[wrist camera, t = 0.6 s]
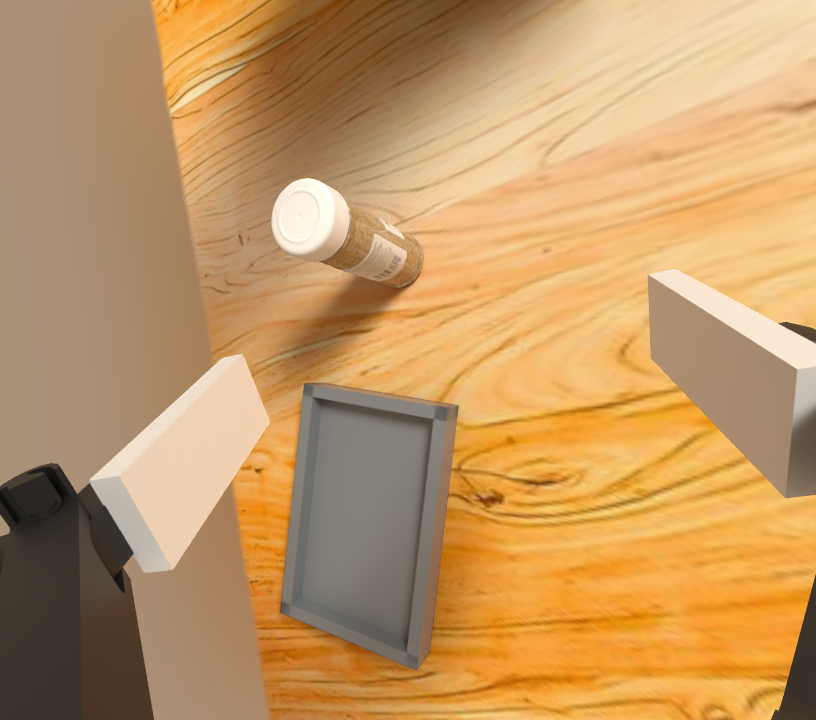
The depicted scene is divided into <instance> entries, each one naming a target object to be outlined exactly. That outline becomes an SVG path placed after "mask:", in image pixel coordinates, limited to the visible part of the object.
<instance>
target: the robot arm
mask: <svg viewBox="0 0 816 720" xmlns="http://www.w3.org/2000/svg"><path fill="white" fill-rule="evenodd" d="M648 294H649V320H650V347H651V359H652V360H653V361H654V362H655V363H656V364H657V365H658V366H659V367H660V368H661V369H662V370H663V371H664V372H665V373H666V374H667V375H668V376H669V377H670V378H671V379H672V381H673V382H674V383H675V384H676V385H677V386H678V387H679V388H680V389H681V390H682V391H683V392H684V393H685V394H686V395H687V396H688V397H689V398H690V399H691V400H692V401H693V402H694V403H695V404H696V406H697V407H698V408H699V409H700V410H701V411H702V412H703V413H704V414H705V415H706V416H707V417H708V418H709V419H710V420H711V421H712V422H713V423H714V424H715V425H716V426H717V427H718V428H719V429H720V431H721V432H722V433H723V434H724V435H725V436H726V437H727V438H728V439H729V440H730V441H731V442H732V443H733V444H734V445H735V446H736V447H737V448H738V449H739V450H740V451H741V452H742V453H743V454H744V456H745V457H746V458H747V459H748V460H749V461H750V462H751V463H752V464H753V465H754V466H755V467H756V468H757V469H758V470H759V471H760V472H761V473H762V474H763V475H764V476H765V477H766V478H767V480H768V481H769V482H770V483H771V484H772V485H773V486H774V487H775V488H776V489H777V490H778V491H779V492H780V493H781V494H782V495H783V496H784V497H785V498H791V497H800V496H808V495H816V330H815V329H813V328H810V327H806V326H801V325H797V324H793V323H789V322H783V323H776V322H774V321H772V320H770V319H768V318H767V317H765V316H763V315H761V314H759V313H757V312H755V311H753V310H752V309H750V308H748V307H746V306H744V305H742V304H740V303H738V302H736V301H735V300H733V299H731V298H729V297H727V296H725V295H723V294H721V293H720V292H718V291H716V290H714V289H712V288H710V287H708V286H706V285H705V284H703V283H701V282H699V281H697V280H695V279H693V278H691V277H690V276H688V275H686V274H684V273H682V272H680V271H678V270H676V269H672V270H667V271H662V272H657V273H652V274H648ZM269 423H270V421H269V418H268V416H267V413H266V411H265V408H264V406H263V403H262V401H261V398H260V396H259V393H258V391H257V388H256V386H255V383H254V381H253V378H252V376H251V373H250V371H249V368H248V366H247V363H246V361H245V358H244V356H243V354H239V355H234V356H229V357H224V358H222V359H221V360H220V361H218V362H217V363H216V364H215V365H214V366H213V367H212V368H211V369H210V370H209V371H208V372H206V373H205V374H204V375H203V376H202V377H201V378H200V379H199V380H198V381H197V382H196V383H194V385H192V386H191V387H190V388H189V389H188V390H187V391H186V392H185V393H184V394H182V395H181V396H180V397H179V398H178V399H177V400H176V401H175V402H174V403H173V404H172V405H171V406H169V407H168V408H167V409H166V410H165V411H164V412H163V413H162V414H161V415H160V416H158V418H156V419H155V420H154V421H153V422H152V423H151V424H150V425H149V426H148V427H146V428H145V429H144V430H143V431H142V432H141V433H140V434H139V435H138V436H137V437H136V438H135V439H133V440H132V441H131V442H130V443H129V444H128V445H127V446H126V447H125V448H124V449H123V450H121V451H120V452H119V453H118V454H117V455H116V456H115V457H114V458H113V459H112V460H110V462H108V463H107V464H106V465H105V466H104V467H103V468H102V469H101V470H100V471H99V472H98V473H96V474H95V475H94V476H93V477H92V478H91V479H90V480H89V482H90V483H89V484H88V485H87V486H86V487H85V488H84V489H82V490H81V491H80V492H79V493H78V494H77V493H76V491H75V490H74V488H73V487H72V485H71V483H70V482H69V480H68V479H67V477H66V475H65V474H64V472H63V471H62V469H61V467H60V466H59V465H58V464H52V463H51V464H47V465H42V466H39V467H36V468H33V469H31V470H28V471H26V472H24V473H22V474H20V475H18V476H16V477H14V478H12V479H11V480H9V481H8V482H6V483H4V484H3V485H2V486H0V515H1V516H2V517H3V518H4V520H5V522H6V523H7V524H8V526H9V527H10V533H9V534H7V535H4V536H1V537H0V720H154V717H153V711H152V705H151V699H150V694H149V687H148V682H147V675H146V670H145V664H144V658H143V652H142V646H141V640H140V634H139V628H138V622H137V616H136V610H135V604H134V598H133V593H132V586H131V580H130V578H129V577H128V575H127V573H126V572H125V570H124V568H123V566H124V565H125V564H126V562H127V561H128V560H129V558H130V557H131V556H132V555H134V557H135V558H136V560H137V562H138V563H139V565H140V567H141V568H142V570H143V572H144V573H149V572H158V571H167V570H173V569H174V567H175V566H176V564H177V563H178V561H179V560H180V558H181V557H182V555H183V554H184V552H185V551H186V549H187V548H188V546H189V544H190V543H191V541H192V540H193V538H194V537H195V535H196V534H197V532H198V531H199V529H200V528H201V526H202V525H203V523H204V522H205V520H206V519H207V517H208V516H209V514H210V513H211V511H212V510H213V508H214V507H215V505H216V504H217V502H218V500H219V499H220V497H221V496H222V494H223V493H224V491H225V490H226V488H227V487H228V485H229V484H230V482H231V481H232V479H233V478H234V476H235V475H236V473H237V472H238V470H239V469H240V467H241V466H242V464H243V463H244V461H245V460H246V458H247V457H248V455H249V453H250V452H251V450H252V449H253V447H254V446H255V444H256V443H257V441H258V440H259V438H260V437H261V435H262V434H263V432H264V431H265V429H266V428H267V426H268V425H269ZM771 720H816V575H815V579H814V583H813V587H812V590H811V594H810V598H809V602H808V606H807V609H806V613H805V617H804V621H803V624H802V628H801V632H800V636H799V639H798V643H797V647H796V651H795V654H794V658H793V662H792V666H791V669H790V673H789V677H788V681H787V685H786V688H785V692H784V696H783V699H782V703H781V706H780V708H779V711H778V710H775V712H774V714H773V716H772V719H771Z"/></svg>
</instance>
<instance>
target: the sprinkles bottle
mask: <svg viewBox="0 0 816 720" xmlns="http://www.w3.org/2000/svg"><path fill="white" fill-rule="evenodd" d="M271 227H272V232H273V235H274V238H275V240H276V242H277V244H278V245H279V246H280V248H281V249H282V250H284V251H285V252H286V253H288V254H290V255H292V256H295V257H297V258H300V259H303V260H307V261H311V262H322V263H324V264H327V265H330V266H332V267H334V268H337V269H339V270H342V271H345V272H348V273H351V274H354V275H357V276H360V277H363V278H367V279H370V280H373V281H379V282H382V283H384V284H385V285H387V286H389V287H393V288H401V287H405V286H407V285H409V284H410V283H411V282H413V281H414V280H415V279H416V278H417V277H418V275H419V274H420V272H421V269H422V266H423V259H424V254H423V250H422V248H421V246H420V244H419V243H418V241H417V240H416V239H415V238H414V237H412V236H411V235H408V234H405V233H402V232H400V231H399V230H398V229H397V228H395V227H394V226H392V225H390V224H388V223H387V222H385V221H383V220H382V219H380V218H378V217H376V216H373V215H371V214H370V213H368V212H366V211H364V210H362V209H360V208H359V207H357V206H355V205H354V204H352V203H350V202H348V201H346V200H345V199H344V198H343V197H342V196H341V195H340V194H339V192H337V191H336V190H334V189H333V188H331V187H329V186H328V185H326V184H324V183H322V182H320V181H318V180H315V179H310V178H305V179H299V180H297V181H294V182H293V183H291V184H289V185H288V186H287V187H286V188H285V189H284V190H283V191H282V192H281V193H280V195H279V196H278V198H277V200H276V202H275V205H274V208H273V211H272V217H271Z"/></svg>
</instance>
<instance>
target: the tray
mask: <svg viewBox="0 0 816 720" xmlns="http://www.w3.org/2000/svg"><path fill="white" fill-rule="evenodd" d="M458 406H459V405H453V404H447V403H441V402H435V401H429V400H423V399H417V398H411V397H405V396H399V395H393V394H387V393H381V392H375V391H369V390H363V389H357V388H351V387H345V386H339V385H333V384H327V383H304V391H303V400H302V410H301V420H300V429H299V439H298V448H297V458H296V468H295V477H294V487H293V497H292V506H291V516H290V525H289V535H288V545H287V554H286V564H285V574H284V583H283V593H282V602H281V613H283V614H285V615H288V616H290V617H293V618H295V619H297V620H300V621H302V622H304V623H307V624H309V625H311V626H314V627H316V628H318V629H321V630H323V631H325V632H328V633H330V634H332V635H335V636H337V637H339V638H342V639H344V640H346V641H349V642H351V643H353V644H356V645H358V646H360V647H363V648H365V649H367V650H370V651H372V652H374V653H377V654H379V655H381V656H384V657H386V658H388V659H391V660H393V661H395V662H398V663H400V664H402V665H405V666H407V667H410V668H412V669H414V670H418V669H419V667H420V666H421V664H422V663H423V662H424V660H425V659H426V657H427V656H428V654H429V653H430V645H431V637H432V628H433V619H434V611H435V602H436V594H437V585H438V577H439V568H440V560H441V551H442V543H443V534H444V526H445V517H446V509H447V500H448V492H449V483H450V475H451V466H452V458H453V449H454V440H455V432H456V423H457V415H458Z"/></svg>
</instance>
